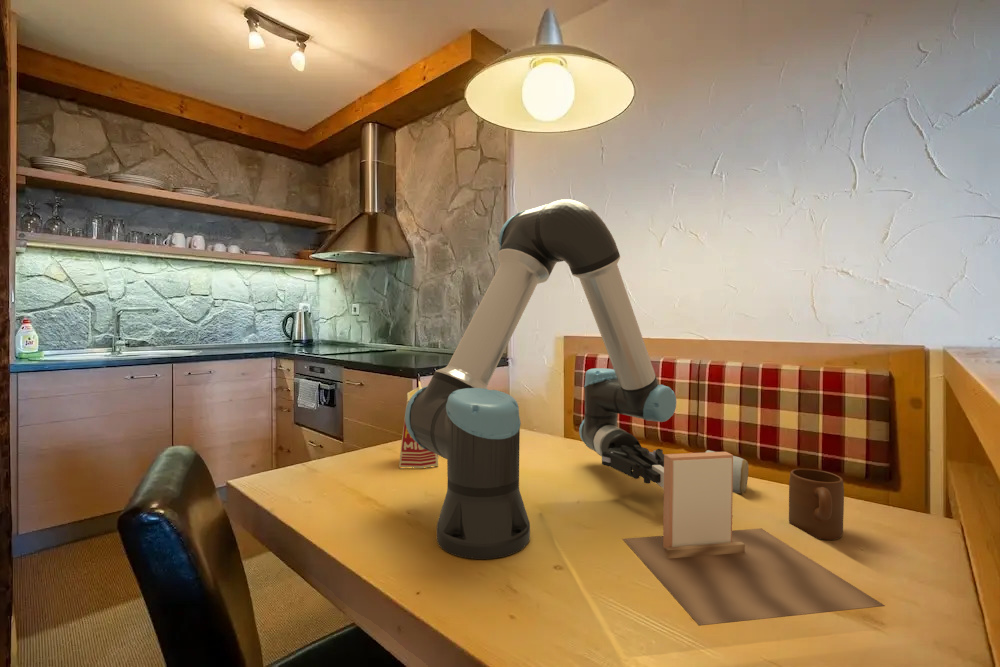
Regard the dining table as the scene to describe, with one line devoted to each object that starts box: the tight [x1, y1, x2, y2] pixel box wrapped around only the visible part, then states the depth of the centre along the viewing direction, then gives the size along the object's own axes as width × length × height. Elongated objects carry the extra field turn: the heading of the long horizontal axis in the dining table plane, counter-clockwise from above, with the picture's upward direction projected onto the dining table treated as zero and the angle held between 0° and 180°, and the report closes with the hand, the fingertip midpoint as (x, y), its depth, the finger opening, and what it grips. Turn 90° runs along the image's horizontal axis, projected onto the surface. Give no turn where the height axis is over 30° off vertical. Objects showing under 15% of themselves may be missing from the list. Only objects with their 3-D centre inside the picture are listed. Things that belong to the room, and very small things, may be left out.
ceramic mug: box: [704, 449, 749, 494], centre depth 99 cm, size 11×8×8 cm
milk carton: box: [398, 380, 439, 468], centre depth 115 cm, size 9×9×20 cm
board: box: [622, 528, 886, 626], centre depth 65 cm, size 24×21×2 cm
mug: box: [788, 468, 845, 541], centre depth 77 cm, size 12×8×9 cm, turn 156°
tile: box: [662, 451, 734, 549], centre depth 70 cm, size 10×2×14 cm, turn 99°
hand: (674, 485), depth 77 cm, fingers closed
